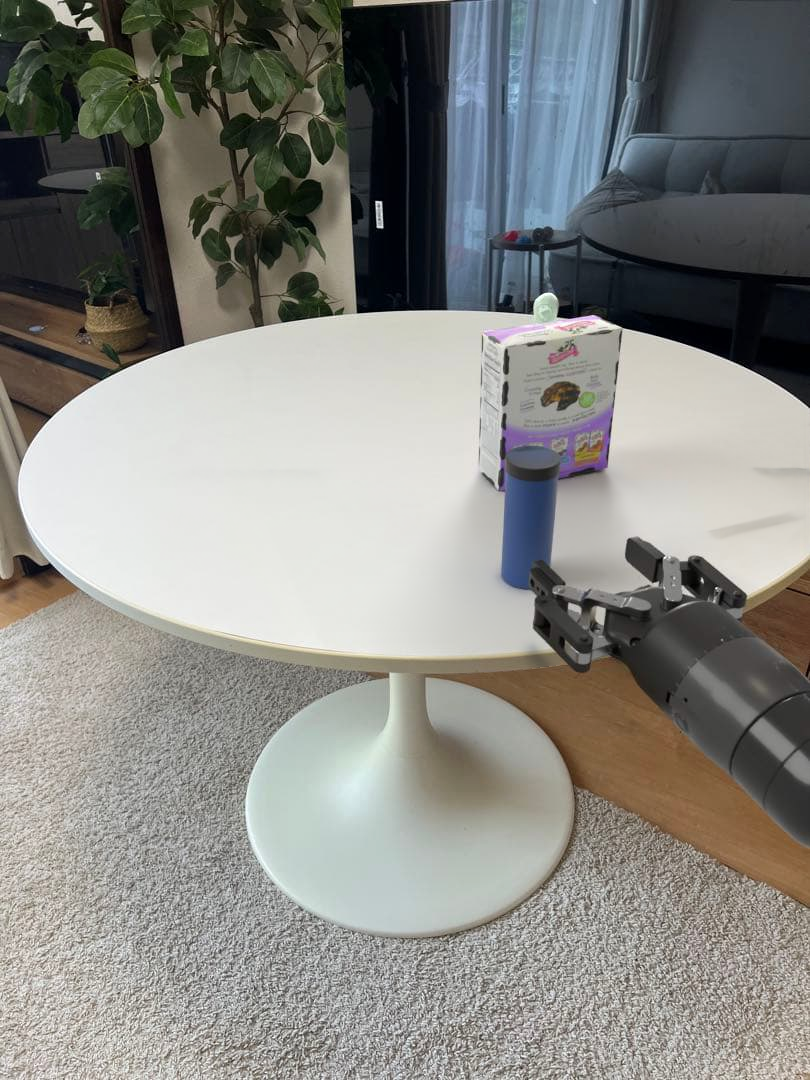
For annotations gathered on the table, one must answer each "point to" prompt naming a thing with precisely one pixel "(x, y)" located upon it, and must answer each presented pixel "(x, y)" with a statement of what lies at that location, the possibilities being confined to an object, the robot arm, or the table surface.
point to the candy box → (549, 393)
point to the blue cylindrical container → (528, 511)
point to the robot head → (545, 308)
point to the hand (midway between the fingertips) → (583, 558)
